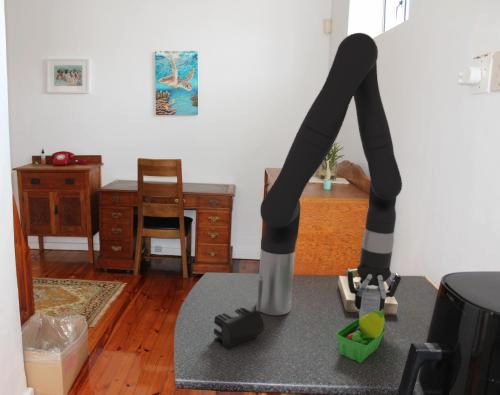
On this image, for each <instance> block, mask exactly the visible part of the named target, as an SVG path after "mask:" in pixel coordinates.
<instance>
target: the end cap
mask: <svg viewBox="0 0 500 395" xmlns="http://www.w3.org/2000/svg"><path fill="white" fill-rule="evenodd" d="M234 313H236V314H238V316H231V315H229V314H227V313H226V312H225V313H222V314H218V315H216V316H214V321H213V323H214V325H216V326H218V327H219V328H220V329H217V328H216V327H214V329H213V335H215V337H214V341H215V342H216V343H217V344H219V345H220V346H221V347H223V348H225V349H227V348H229V347H232V346H235V345H237V344H240V343H243V342H246V341H248V340H252V339H254V338H257V337H259V336H261V335H262V334H263V332H264V330H265V324H264V318H263V316H262V315H261V313H260V312H259V311H256V310H254V311H250V310H248V309H246V308H245V307H240V308H238V309H235V310H234Z"/></svg>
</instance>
